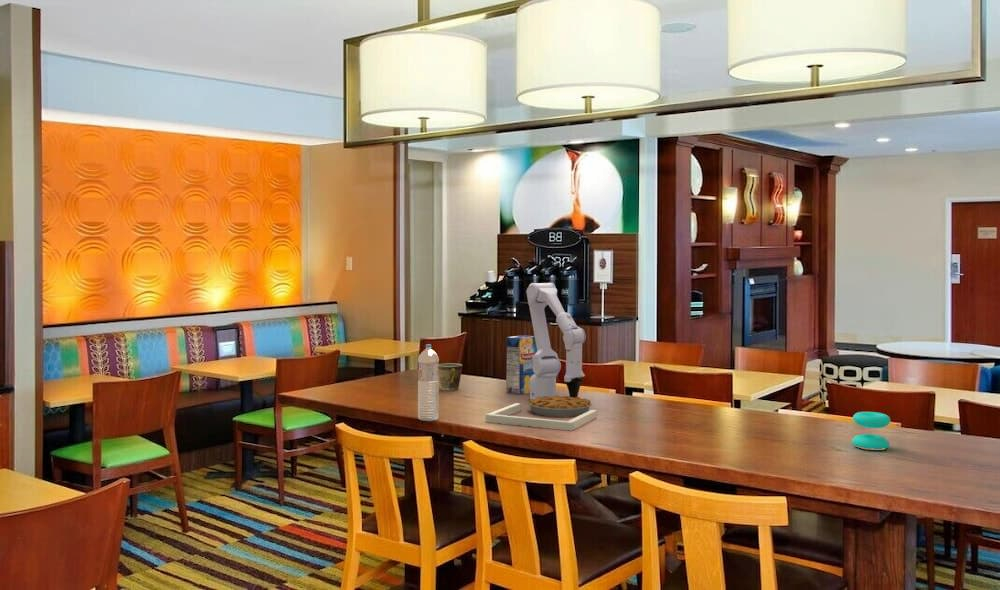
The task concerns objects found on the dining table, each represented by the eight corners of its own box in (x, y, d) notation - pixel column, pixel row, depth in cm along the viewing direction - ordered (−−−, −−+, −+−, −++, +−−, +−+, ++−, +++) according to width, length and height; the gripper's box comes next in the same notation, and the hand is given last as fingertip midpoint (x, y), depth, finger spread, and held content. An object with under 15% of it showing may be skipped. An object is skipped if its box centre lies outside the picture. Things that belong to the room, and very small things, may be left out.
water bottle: (435, 421, 294) (435, 346, 292) (415, 420, 295) (415, 345, 294) (440, 418, 301) (441, 343, 299) (421, 417, 302) (421, 343, 301)
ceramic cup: (434, 388, 363) (435, 363, 363) (458, 387, 366) (458, 362, 366) (442, 393, 351) (442, 367, 351) (467, 392, 354) (467, 367, 354)
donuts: (874, 410, 266) (898, 416, 256) (873, 443, 267) (897, 450, 257) (845, 411, 263) (868, 418, 254) (844, 445, 264) (867, 452, 254)
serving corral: (485, 422, 294) (485, 414, 294) (515, 410, 316) (515, 403, 316) (571, 430, 281) (571, 422, 281) (596, 417, 303) (596, 410, 303)
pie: (604, 413, 313) (604, 398, 313) (561, 421, 298) (561, 406, 298) (558, 404, 329) (558, 391, 329) (515, 411, 314) (515, 397, 314)
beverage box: (506, 392, 354) (506, 337, 352) (523, 389, 362) (524, 335, 361) (519, 394, 349) (519, 338, 348) (537, 391, 357) (537, 336, 356)
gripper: (577, 364, 317) (577, 402, 317) (591, 360, 330) (590, 396, 331) (559, 363, 320) (558, 401, 320) (573, 359, 333) (572, 395, 334)
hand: (573, 399), depth 326 cm, fingers closed
